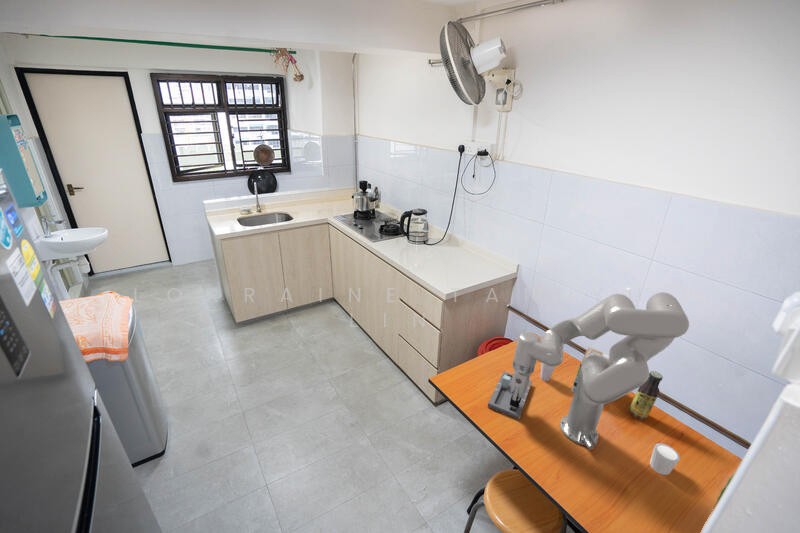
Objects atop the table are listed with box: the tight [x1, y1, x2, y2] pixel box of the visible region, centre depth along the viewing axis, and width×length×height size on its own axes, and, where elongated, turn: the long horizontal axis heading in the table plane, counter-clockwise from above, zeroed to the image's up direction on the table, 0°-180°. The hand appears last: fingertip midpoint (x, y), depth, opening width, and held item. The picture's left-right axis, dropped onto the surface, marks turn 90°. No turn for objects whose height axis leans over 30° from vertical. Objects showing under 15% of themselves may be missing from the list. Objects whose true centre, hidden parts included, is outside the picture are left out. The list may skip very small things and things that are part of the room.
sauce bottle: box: [628, 370, 664, 421], centre depth 136 cm, size 7×6×20 cm
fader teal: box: [501, 375, 511, 390], centre depth 147 cm, size 2×3×5 cm
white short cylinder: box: [649, 443, 680, 476], centre depth 118 cm, size 7×7×7 cm
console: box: [487, 371, 533, 421], centre depth 146 cm, size 22×12×2 cm, turn 150°
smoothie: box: [540, 362, 556, 382], centre depth 154 cm, size 6×6×14 cm
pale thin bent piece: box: [571, 347, 610, 394], centre depth 150 cm, size 15×10×15 cm
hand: (515, 403), depth 138 cm, fingers closed on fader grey, 2 cm apart
